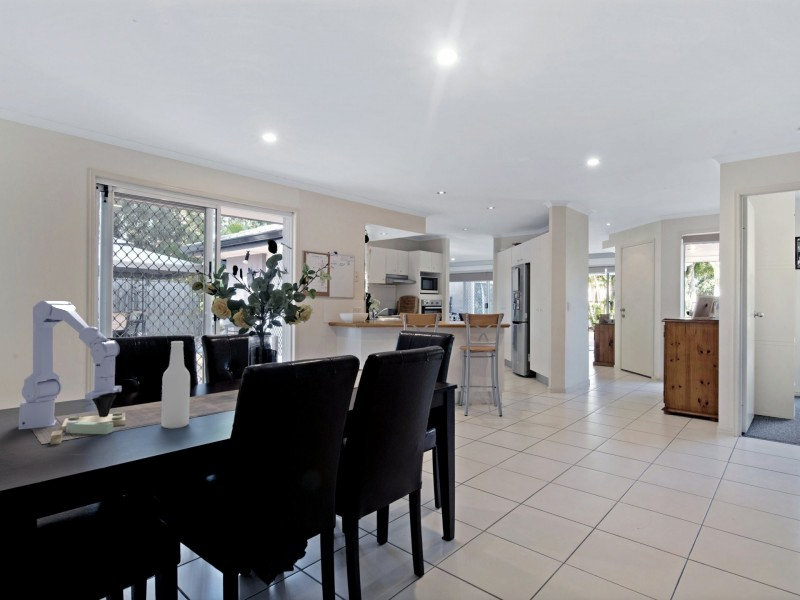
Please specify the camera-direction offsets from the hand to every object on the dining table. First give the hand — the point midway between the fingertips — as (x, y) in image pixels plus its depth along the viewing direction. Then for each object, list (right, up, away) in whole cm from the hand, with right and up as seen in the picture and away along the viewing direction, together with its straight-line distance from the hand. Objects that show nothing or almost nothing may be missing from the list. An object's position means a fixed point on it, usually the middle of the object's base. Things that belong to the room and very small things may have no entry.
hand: (103, 416), depth 147 cm
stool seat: (-4, -5, 0) cm, 6 cm away
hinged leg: (-3, -4, -4) cm, 6 cm away
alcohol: (+21, -5, +7) cm, 23 cm away
